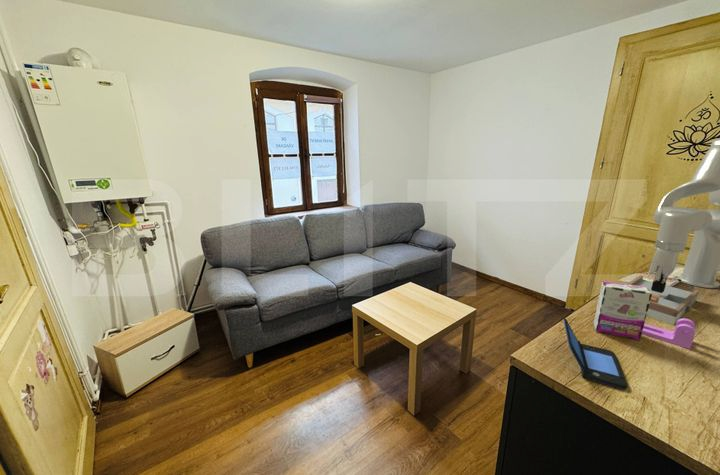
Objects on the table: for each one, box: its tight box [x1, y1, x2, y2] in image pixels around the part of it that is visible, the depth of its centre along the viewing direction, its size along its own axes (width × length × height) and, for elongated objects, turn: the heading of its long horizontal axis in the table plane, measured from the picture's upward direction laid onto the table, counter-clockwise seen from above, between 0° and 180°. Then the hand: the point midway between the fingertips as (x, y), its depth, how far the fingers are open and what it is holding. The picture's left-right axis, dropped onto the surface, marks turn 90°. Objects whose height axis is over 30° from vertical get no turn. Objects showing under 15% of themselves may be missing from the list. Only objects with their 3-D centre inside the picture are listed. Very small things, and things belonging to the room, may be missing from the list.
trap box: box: [627, 275, 700, 326], centre depth 110 cm, size 28×17×6 cm, turn 122°
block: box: [650, 294, 660, 303], centre depth 105 cm, size 5×5×3 cm
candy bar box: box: [593, 281, 652, 341], centre depth 92 cm, size 11×5×16 cm, turn 62°
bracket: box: [642, 318, 696, 350], centre depth 91 cm, size 13×6×7 cm, turn 42°
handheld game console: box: [563, 318, 628, 390], centre depth 81 cm, size 16×13×9 cm
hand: (657, 291), depth 110 cm, fingers closed
